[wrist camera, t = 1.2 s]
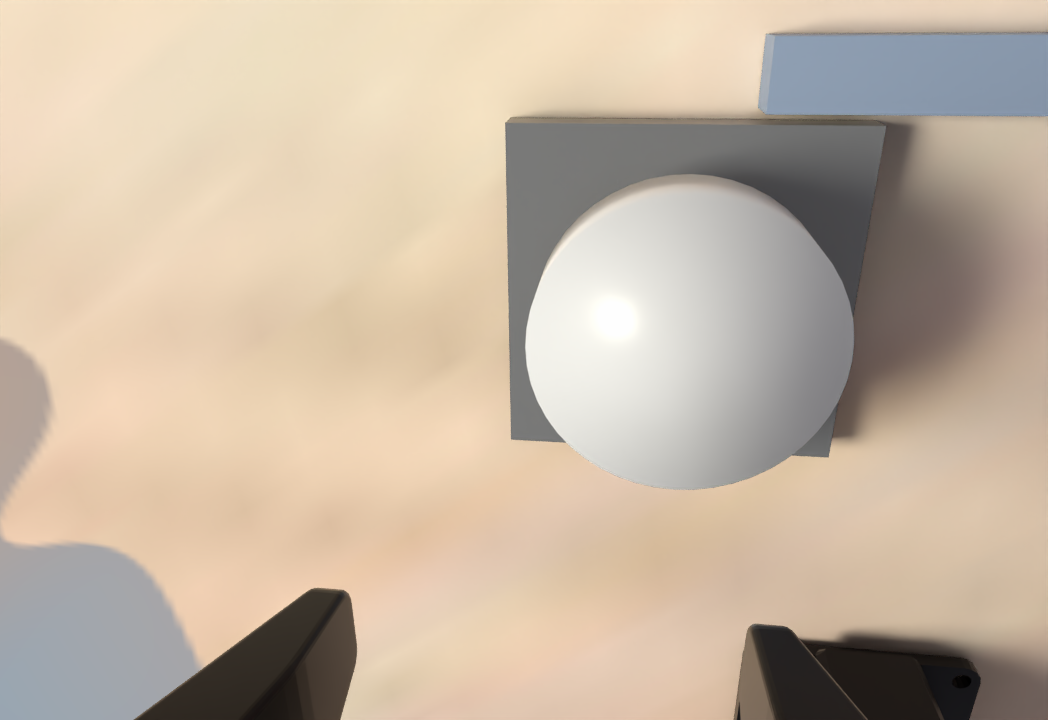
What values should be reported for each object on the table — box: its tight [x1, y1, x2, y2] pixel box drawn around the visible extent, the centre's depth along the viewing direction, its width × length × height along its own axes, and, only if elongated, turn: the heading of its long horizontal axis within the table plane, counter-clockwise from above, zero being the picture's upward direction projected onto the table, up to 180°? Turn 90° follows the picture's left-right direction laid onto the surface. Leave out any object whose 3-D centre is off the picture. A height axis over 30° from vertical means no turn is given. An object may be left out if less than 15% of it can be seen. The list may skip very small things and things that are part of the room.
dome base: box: [505, 118, 886, 457], centre depth 19 cm, size 8×8×1 cm
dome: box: [525, 174, 854, 490], centre depth 17 cm, size 6×6×2 cm
